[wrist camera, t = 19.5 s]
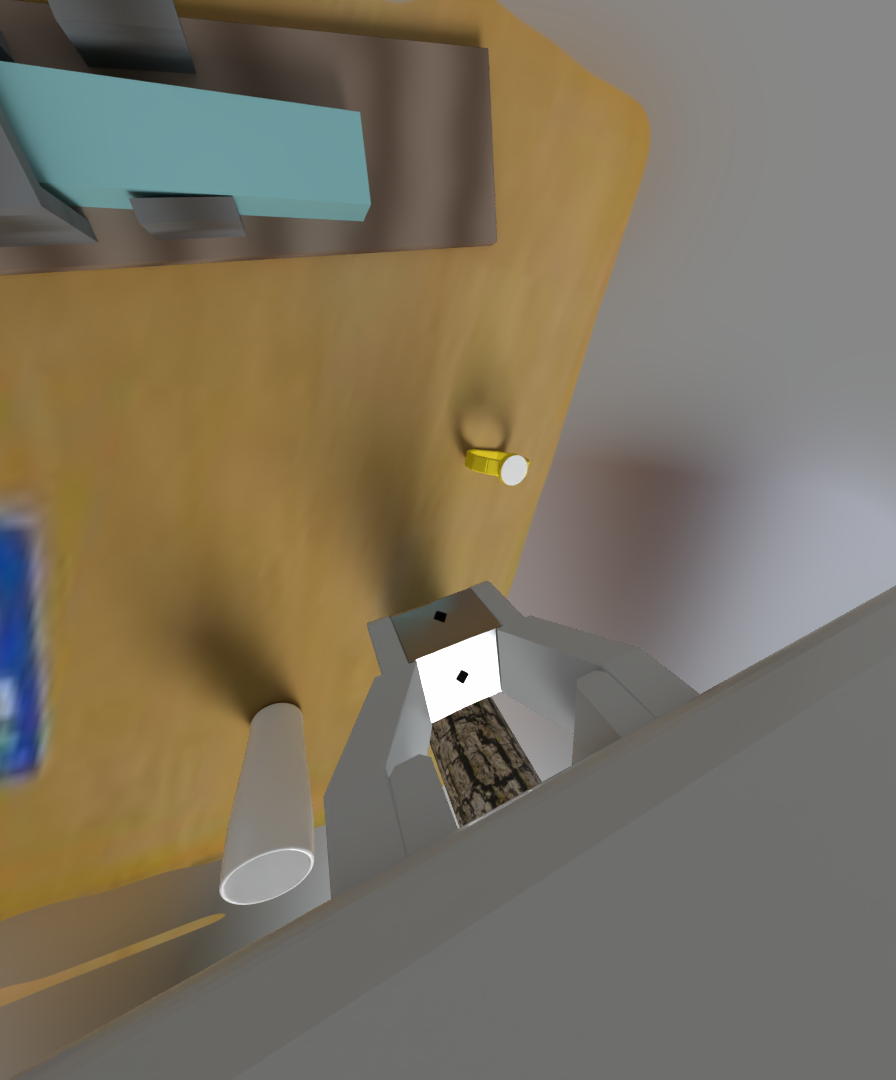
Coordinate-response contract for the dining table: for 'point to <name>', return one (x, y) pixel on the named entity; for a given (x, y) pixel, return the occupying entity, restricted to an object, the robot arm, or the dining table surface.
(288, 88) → the end-cap base
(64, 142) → the slat
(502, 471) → the watch
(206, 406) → the dining table surface
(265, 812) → the drinking glass
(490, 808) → the brown bark cylinder
